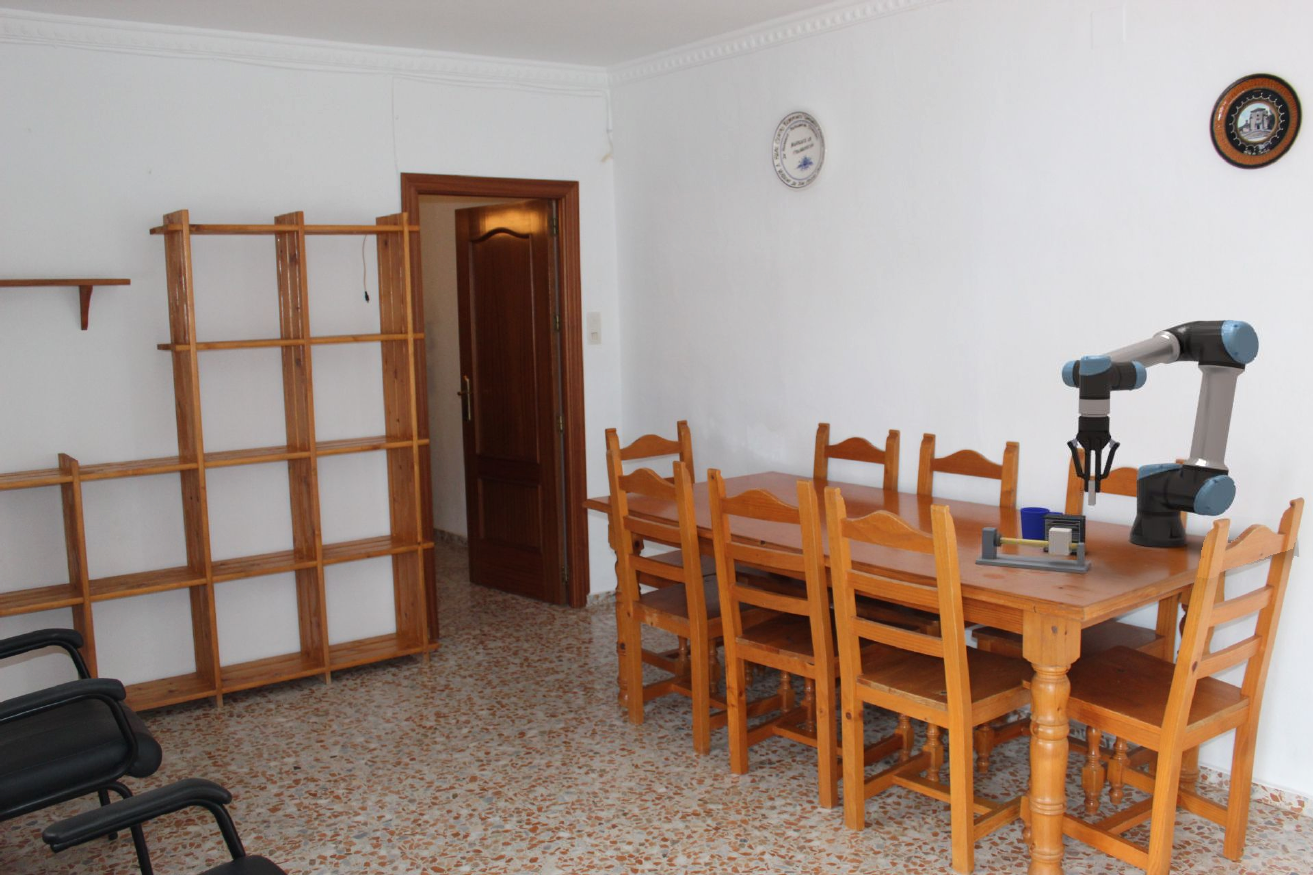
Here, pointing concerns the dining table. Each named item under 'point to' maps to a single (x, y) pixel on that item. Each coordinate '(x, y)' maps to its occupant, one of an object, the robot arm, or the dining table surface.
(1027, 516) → the mug
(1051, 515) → the small box
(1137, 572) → the dining table surface
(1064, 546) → the sleeve
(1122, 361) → the robot arm
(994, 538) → the cord stand
